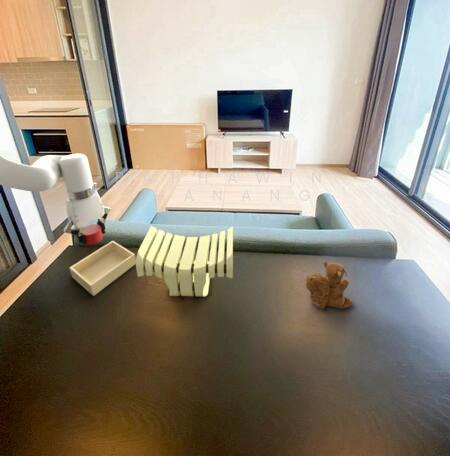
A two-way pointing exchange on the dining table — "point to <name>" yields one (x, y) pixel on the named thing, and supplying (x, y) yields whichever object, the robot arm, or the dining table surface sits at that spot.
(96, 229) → the disc
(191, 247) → the slatted curved stool
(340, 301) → the stuffed squirrel
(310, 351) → the dining table surface
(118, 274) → the bin
